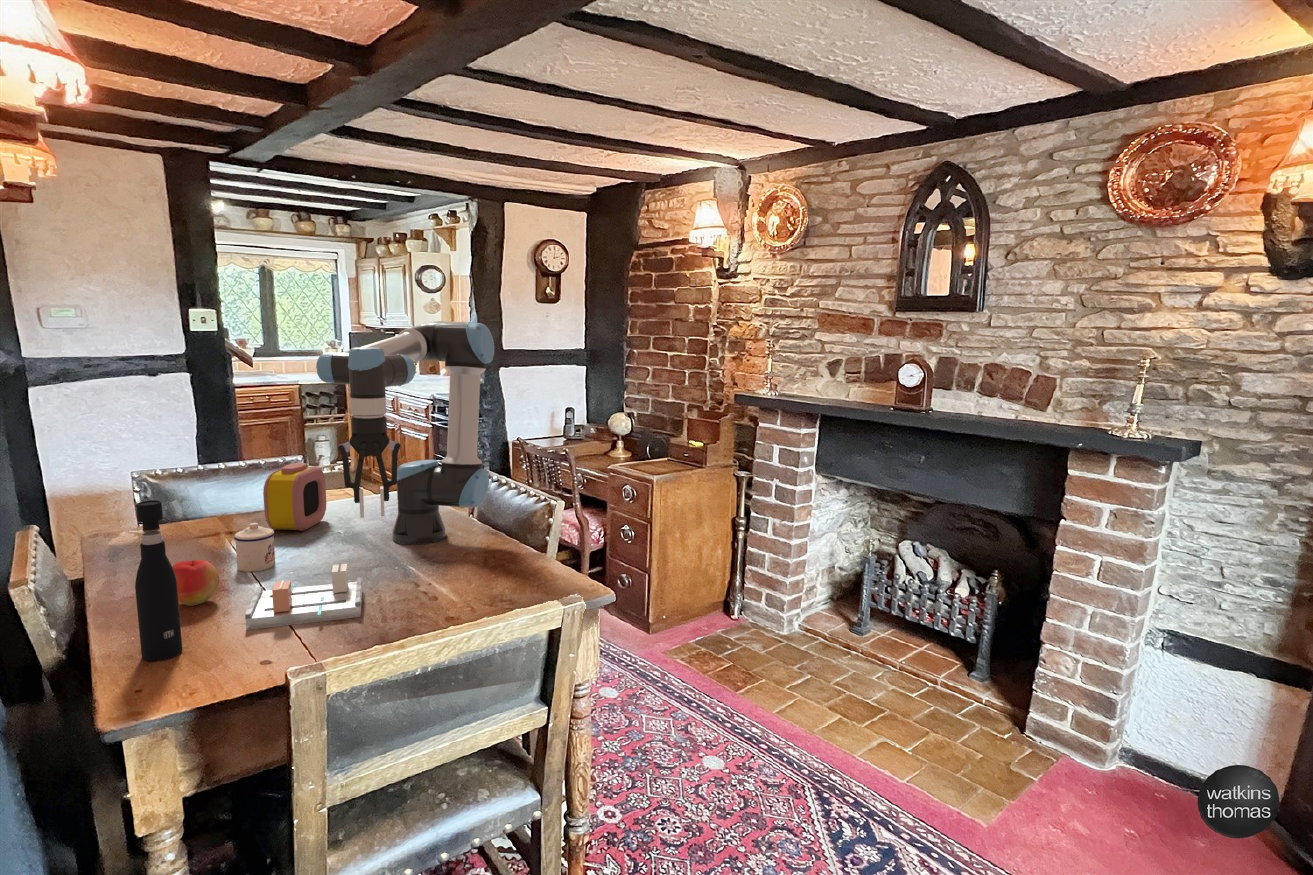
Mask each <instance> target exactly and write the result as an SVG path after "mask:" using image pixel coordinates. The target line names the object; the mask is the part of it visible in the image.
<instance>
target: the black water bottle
mask: <svg viewBox="0 0 1313 875" xmlns="http://www.w3.org/2000/svg"><path fill="white" fill-rule="evenodd" d="M135 506H136V507H135V508H136V509H135V510H136V520H137V522H138V523H142V524H141V525H142V532H143V533H141V537H140V539H141V543H140V545H139V547H140V556H141V557H140V558H141V559H140V562H139V565H138V568H137V572H136V577H135V585H134V589H135V599H136V602H135V603H136V610H137V621H138V632H139V641H140V644H139V645H140V653H141V654H140V655H141V660H142V661H145V662H148V663H149V662H150V663H151V662H152V663H153V662H155V663H156V662H161V661H166V660H170V659H173V658H175V657H177V656H179V655H180V654H181V653H182V652H183V639H182V629H181V628H182V627H181V618H180V604H179V603H180V602H178V591H177V580H176V576H175V573H174V570H173V567H172V566H173V565H172V564H171V562H170V560H169V558H168V556H167V554H166V541H165V540H163V539H164V538H163V535H164V534H163V533H162V531H160V529H161V527H160V521H161V520H163V518H164V514H163V504H162V501H161V500H155V499H153V500H143V501H140V502H137V503H136V504H135Z"/></svg>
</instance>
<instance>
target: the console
mask: <svg viewBox="0 0 1313 875" xmlns="http://www.w3.org/2000/svg"><path fill="white" fill-rule="evenodd" d="M291 592H292V604H291V607H290V610H289V611H283V612H273V596H272V589H268V590H263V586H258V587H256V589H255V592H254V594H253V597H252V599H251V601H250V604H249V606H248V607H247V609H246V612H245V614H244V616H245V617H244V618H245V630H246V631H249V630H252V631H253V630H258V629H260V630H261V629H267V628H276V627H277V628H278V627H284V626H292V625H293V626H294V625H301V624H310V623H319V622H328V621H329V622H330V621H337V620H344V619H352V618H353V619H354V618H360V617H361V616H362V615H361V614H362V602H363V600H362V599H363V577H357V578H356V581H352V582H351V581H350V582H349V581H348V588H347V592H338V593H333V587H332V583H330V584H329V583H328V584H319V585H310V586H309V585H308V586H300V587H295V583H294V584H292V583H291Z"/></svg>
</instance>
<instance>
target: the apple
mask: <svg viewBox="0 0 1313 875" xmlns="http://www.w3.org/2000/svg"><path fill="white" fill-rule="evenodd" d="M172 567H173V570H174V573H175V576H176V580H177V591H178V603H180V604H182V605H185V606H189V607H191V606H197V605H201V604H204V603H206V602H207V601H208V600H209V599H211V597H213V596H214V594H215V593H216V591H217V589H218V587H219V585H220V574H219V572H218V570H217V569H216V567H215V566H214V565H213V564H212V563H210V562H209V561H208V560H203V559H193V560H183V561H177V562H175V564H173V565H172Z"/></svg>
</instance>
